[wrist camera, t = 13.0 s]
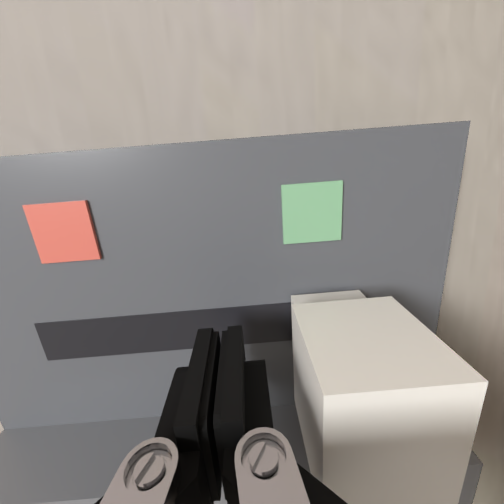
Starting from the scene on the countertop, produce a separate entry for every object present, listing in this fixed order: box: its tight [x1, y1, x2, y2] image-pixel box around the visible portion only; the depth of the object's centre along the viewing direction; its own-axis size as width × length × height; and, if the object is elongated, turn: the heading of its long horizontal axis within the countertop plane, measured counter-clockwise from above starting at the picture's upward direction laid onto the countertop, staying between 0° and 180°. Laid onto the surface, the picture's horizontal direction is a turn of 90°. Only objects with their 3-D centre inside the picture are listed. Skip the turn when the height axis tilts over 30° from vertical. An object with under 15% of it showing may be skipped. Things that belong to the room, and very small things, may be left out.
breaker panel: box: [0, 121, 483, 504], centre depth 12 cm, size 22×16×6 cm
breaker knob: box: [291, 290, 488, 504], centre depth 9 cm, size 4×4×6 cm
